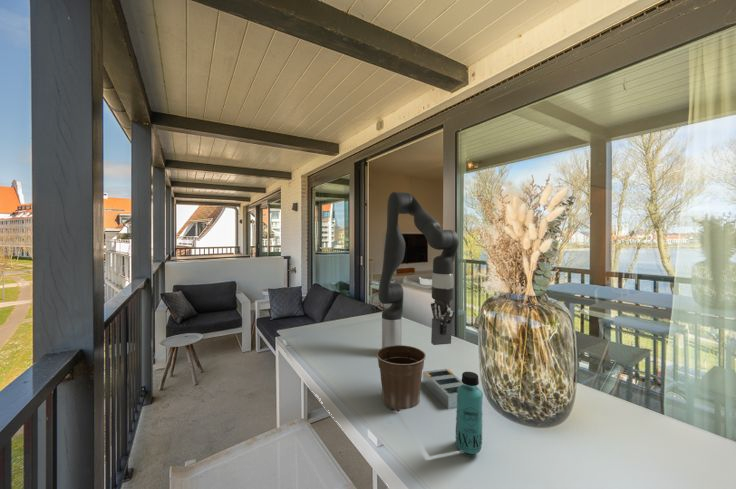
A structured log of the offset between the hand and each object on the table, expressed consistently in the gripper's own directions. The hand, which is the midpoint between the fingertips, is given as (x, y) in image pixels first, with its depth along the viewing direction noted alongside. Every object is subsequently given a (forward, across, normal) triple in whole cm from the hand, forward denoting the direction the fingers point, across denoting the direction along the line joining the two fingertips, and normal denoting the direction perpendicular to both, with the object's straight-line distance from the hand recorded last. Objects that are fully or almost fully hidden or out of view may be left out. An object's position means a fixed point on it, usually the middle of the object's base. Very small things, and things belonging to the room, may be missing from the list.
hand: (441, 333), depth 108 cm
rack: (+20, +5, 0) cm, 21 cm away
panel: (+4, 0, 0) cm, 4 cm away
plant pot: (+20, +4, -17) cm, 27 cm away
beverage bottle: (+20, +31, -9) cm, 38 cm away
